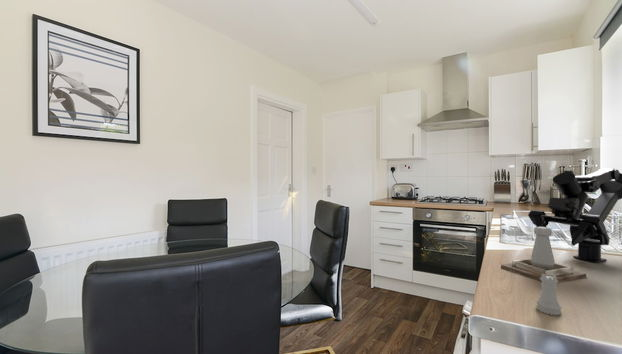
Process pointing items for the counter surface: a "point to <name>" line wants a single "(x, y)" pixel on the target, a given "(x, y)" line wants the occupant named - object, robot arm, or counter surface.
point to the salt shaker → (542, 249)
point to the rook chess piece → (549, 296)
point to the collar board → (542, 270)
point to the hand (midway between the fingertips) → (554, 241)
